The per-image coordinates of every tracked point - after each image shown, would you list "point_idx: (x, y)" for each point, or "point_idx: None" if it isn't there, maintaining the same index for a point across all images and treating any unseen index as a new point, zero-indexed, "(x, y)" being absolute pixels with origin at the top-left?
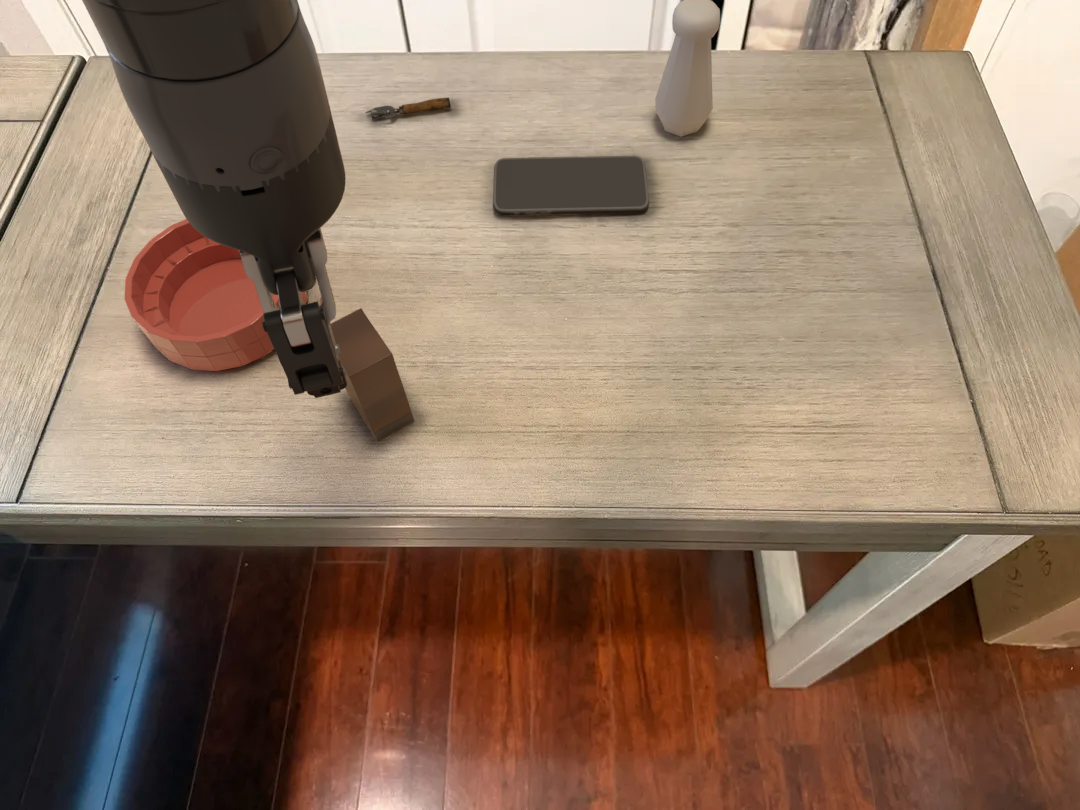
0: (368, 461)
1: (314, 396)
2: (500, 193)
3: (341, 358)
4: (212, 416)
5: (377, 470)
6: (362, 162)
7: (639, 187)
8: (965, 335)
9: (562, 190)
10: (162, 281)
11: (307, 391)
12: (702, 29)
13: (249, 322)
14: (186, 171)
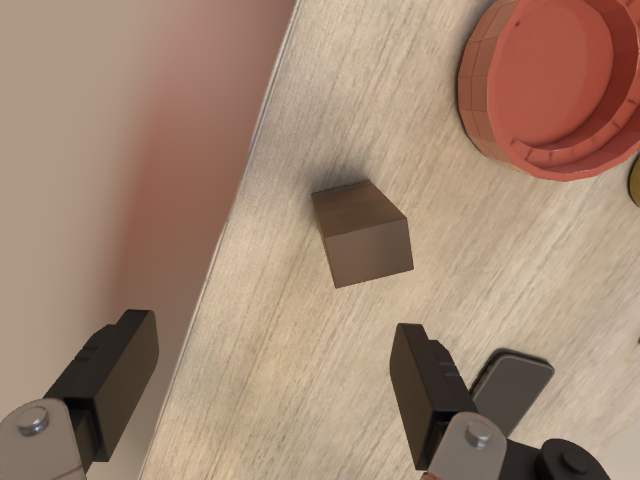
0: (292, 180)
1: (91, 336)
2: (517, 363)
3: (353, 234)
4: (412, 25)
5: (280, 186)
6: (636, 255)
7: None
8: None
9: (491, 406)
10: (622, 2)
11: (122, 316)
12: None
13: (491, 111)
14: None
